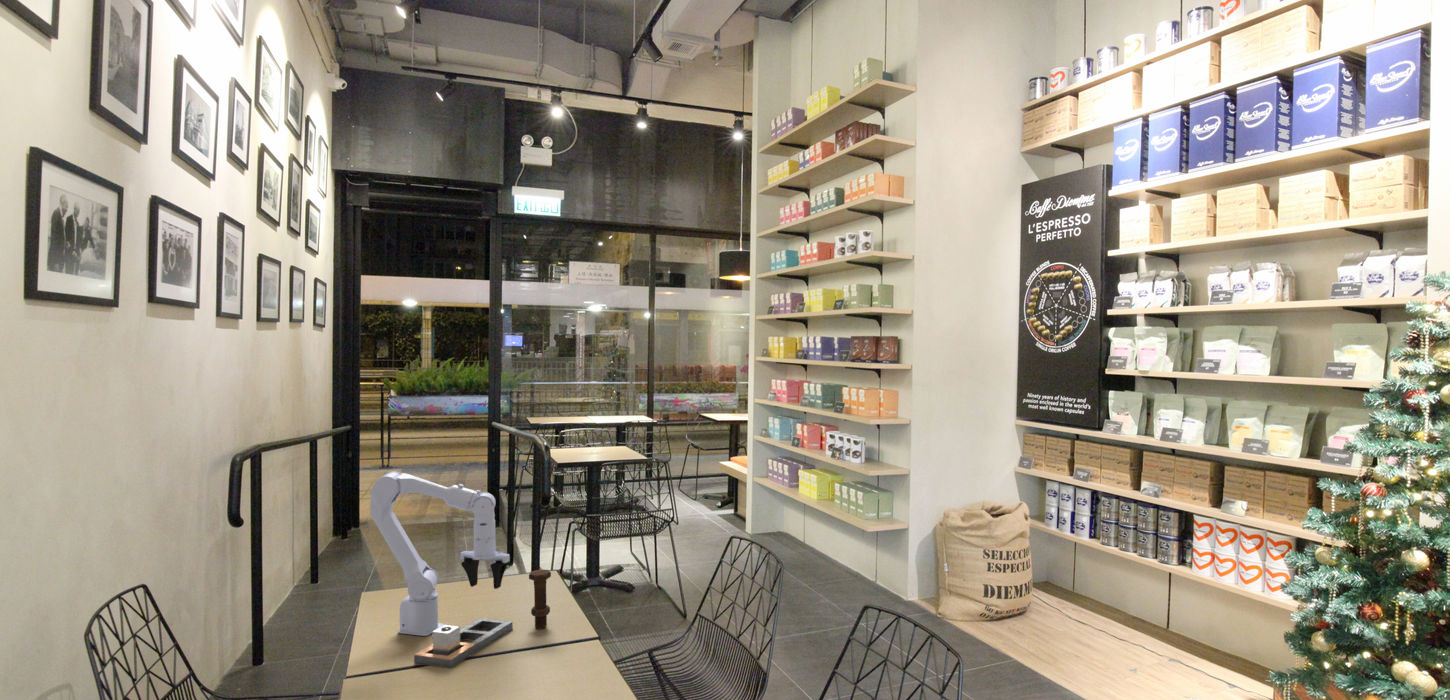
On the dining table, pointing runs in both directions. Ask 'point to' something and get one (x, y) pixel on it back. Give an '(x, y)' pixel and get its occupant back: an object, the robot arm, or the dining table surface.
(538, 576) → the bolt
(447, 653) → the grey rectangular block
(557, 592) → the dining table surface
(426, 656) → the frame with rectangular openings
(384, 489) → the robot arm
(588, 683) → the dining table surface
